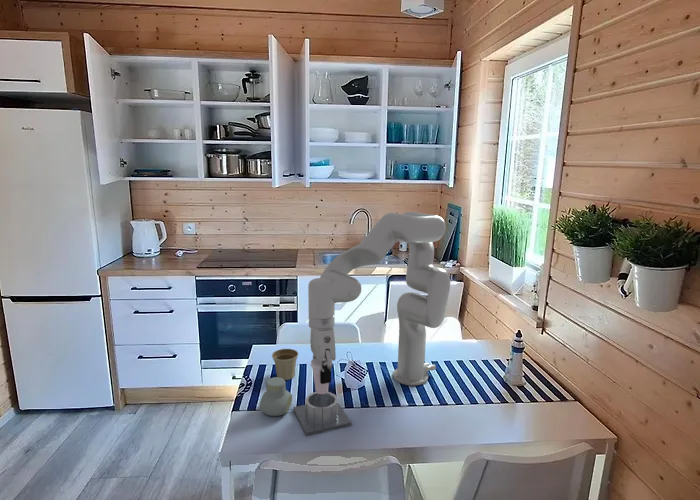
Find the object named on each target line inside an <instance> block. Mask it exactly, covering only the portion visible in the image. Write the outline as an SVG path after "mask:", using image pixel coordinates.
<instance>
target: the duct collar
mask: <svg viewBox="0 0 700 500" xmlns="http://www.w3.org/2000/svg"><path fill="white" fill-rule="evenodd" d="M292 408H293V412H294V414H295V416H296V418H297V420H298V422H299V424H300V426H301V428H302V430H303V432H304V435H305V437H308V436H312V435H317V434H321V433H325V432H328V431H333V430H337V429H341V428H347V427H350V426H352V421H351V420H350V418H349V416H348V415H347V413H346V412H345V411H344V409H343V407H342V406H341V405H340V403H339V399H338V397H337V395H336V394H335V393H332V392H330V391H328V392H327V393H325V394H318V393H316V391H315V392H312V393H309V394H308V395H307V396H306V398H305V400H304V404H302V405H298V406H293V407H292Z"/></svg>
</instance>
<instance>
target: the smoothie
mask: <svg viewBox="0 0 700 500" xmlns="http://www.w3.org/2000/svg"><path fill="white" fill-rule="evenodd" d="M323 360H326V358H324V359H323ZM323 364H324V366H325V365H326V364H327V362H326V363H323ZM310 365H311V368H312V373H313V374H312V375H313V376H312V377H313V381H314V389H315V392H316V393H318V394H325V393H327V392H329V387H330V384H329V383H325V384H321V383H320V371H321V363H320V362H319V361H318V359H317V358H314V359H313V358H312V359H311V361H310Z"/></svg>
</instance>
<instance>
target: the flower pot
mask: <svg viewBox="0 0 700 500" xmlns="http://www.w3.org/2000/svg"><path fill="white" fill-rule="evenodd" d="M271 357H272V359H273V362H274V366H275V373H276V377H280V378H283V379H284V380H285V381H288V380H292V379H293V378H294V377H295V373H296V367H297V366H296V364H297V359H298V357H299V352H298V351H297V350H296V349H293V348H281V349H277V350H274V351H273V352H272V354H271Z"/></svg>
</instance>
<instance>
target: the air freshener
mask: <svg viewBox="0 0 700 500" xmlns="http://www.w3.org/2000/svg"><path fill="white" fill-rule="evenodd" d="M265 386H266V387H265V392H263V395H262V396H261V398H260V402H259V410H260V411H261V412H262V413H263V414H264V415H267V416H270V417H278V416H279V417H280V416H282V415H285V414H288V412H289V410H290V409H291V406H292V402H293V394H292V393H291V392H290V391H288V390H287V389H286V380H285V379H283V378H280V377H277V376H275V377H271V378H269V379H267V381H266V383H265Z"/></svg>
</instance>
